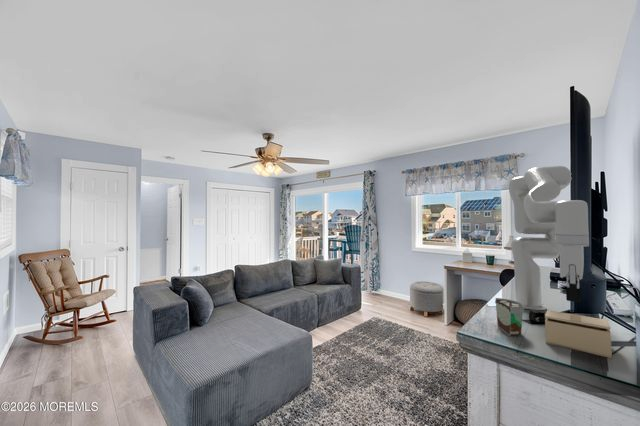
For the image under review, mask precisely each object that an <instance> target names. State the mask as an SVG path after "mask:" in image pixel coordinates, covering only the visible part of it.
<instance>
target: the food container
mask: <svg viewBox="0 0 640 426" xmlns="http://www.w3.org/2000/svg"><path fill="white" fill-rule="evenodd" d="M494 301H495V302H494V304H495V307H496V309H495V310H496V318H497V320H496V322H497V323H496V324H497V327H498V328H499V329H500V330H502V331H503V332H504V333H505V334H507V335H508V336H509V337H519V336H520V337H521V335H522V327H523V326H522V325H523V321H522V320H523V314H524V313H525V312H526V310H525V308H524V307H523V305H522V304H521V303H519V302H517V301H513V299H512V300H511V299H507V298H501V297H495V300H494Z"/></svg>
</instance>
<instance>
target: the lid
mask: <svg viewBox="0 0 640 426" xmlns="http://www.w3.org/2000/svg"><path fill="white" fill-rule="evenodd" d="M546 310H547V311H546V312H545V318H549V319H555V320H560V321H566V322H572V323H577V324H583V325H588V326H594V327H599V328H605V329H609V330H611V326H610V324H609V321H608V319H604V318H596V317H591V316H585V315H581V314H575V313H568V312H562V311H554V310H549V309H546Z"/></svg>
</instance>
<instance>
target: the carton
mask: <svg viewBox="0 0 640 426" xmlns="http://www.w3.org/2000/svg"><path fill="white" fill-rule="evenodd" d="M544 326H545V327H544V328H545V344H548V345H552V346H557V347H561V348H565V349H568V350H569V349H570V350H574V351H578V352H583V353H587V354H590V355H595V356H600V357H604V358H608V359H613V354H612V353H613V352H612V337H611V329H605V328H599V327H594V326H588V325H583V324H577V323H572V322H566V321H560V320H555V319H549V318H546V319H545V325H544Z"/></svg>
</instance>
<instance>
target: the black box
mask: <svg viewBox="0 0 640 426" xmlns="http://www.w3.org/2000/svg"><path fill="white" fill-rule="evenodd" d="M528 311H529V312H528V319H522V322H525V323H527V324H528V325H531V326H539V325H540V326H541V325H542V326H545V319H546V318H545V315H546V312H544V311H543V310H531V309H528Z"/></svg>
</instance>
